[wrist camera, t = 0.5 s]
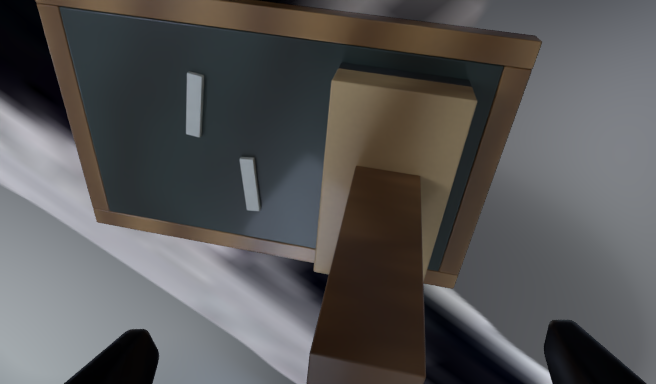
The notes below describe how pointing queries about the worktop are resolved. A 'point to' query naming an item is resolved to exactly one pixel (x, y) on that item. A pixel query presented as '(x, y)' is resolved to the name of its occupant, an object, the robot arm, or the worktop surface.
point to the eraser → (383, 218)
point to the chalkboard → (257, 112)
